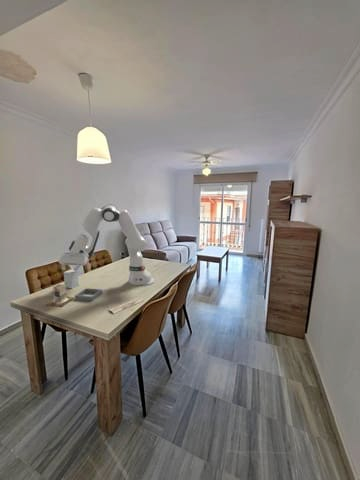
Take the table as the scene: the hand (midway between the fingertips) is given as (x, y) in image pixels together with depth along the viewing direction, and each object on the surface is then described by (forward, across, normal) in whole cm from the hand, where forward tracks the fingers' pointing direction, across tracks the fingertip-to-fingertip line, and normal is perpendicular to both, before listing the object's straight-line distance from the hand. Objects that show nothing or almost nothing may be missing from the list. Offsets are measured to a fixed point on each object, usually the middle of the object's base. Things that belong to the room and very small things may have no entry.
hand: (69, 269), depth 143 cm
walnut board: (+21, -1, +6) cm, 22 cm away
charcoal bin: (+14, +14, +14) cm, 24 cm away
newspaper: (+20, +46, +8) cm, 51 cm away
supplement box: (+3, -10, +24) cm, 26 cm away
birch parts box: (+20, 0, +5) cm, 21 cm away
